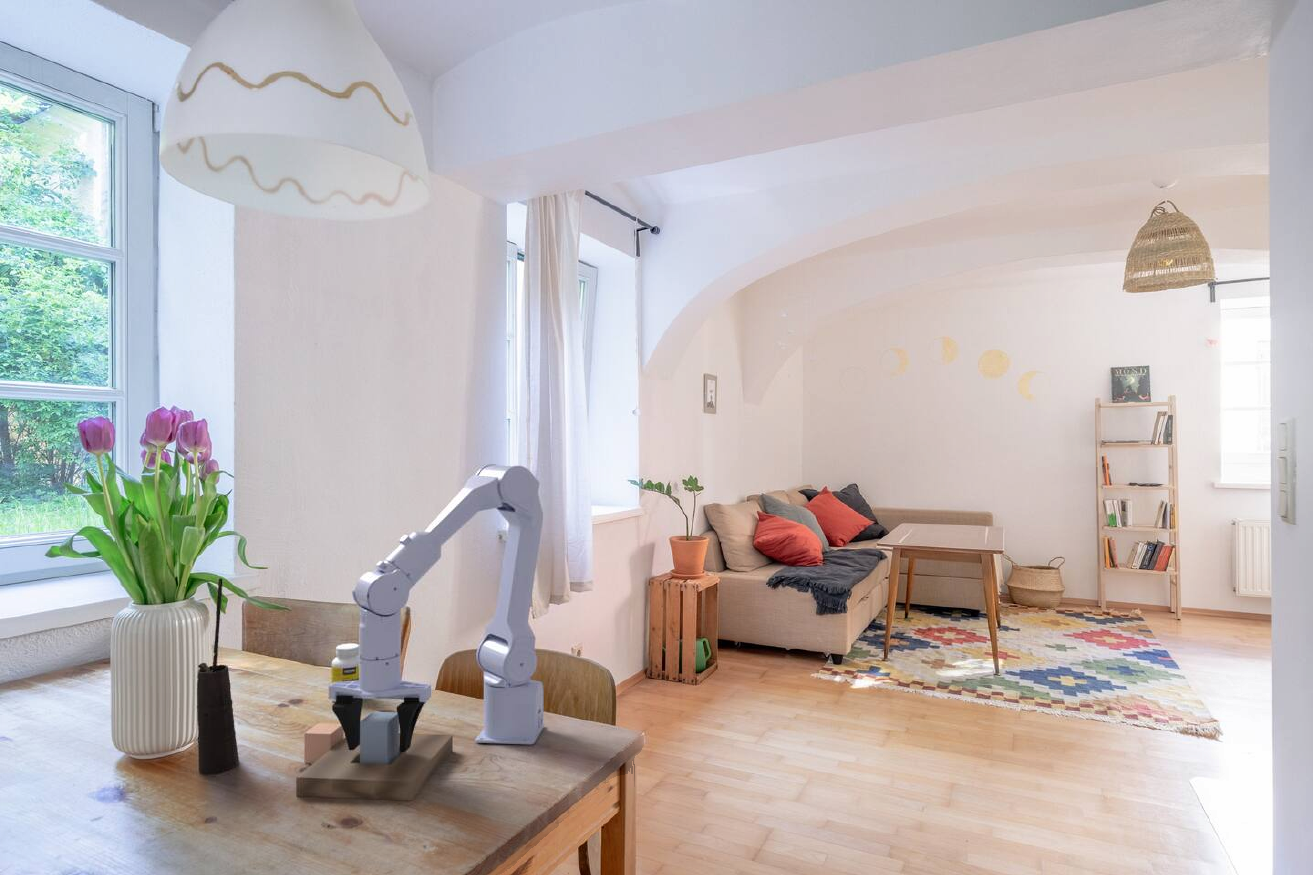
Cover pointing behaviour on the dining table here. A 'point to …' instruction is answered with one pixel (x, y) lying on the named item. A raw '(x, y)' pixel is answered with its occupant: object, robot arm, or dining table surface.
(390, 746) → the tall pin
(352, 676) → the supplement bottle
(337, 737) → the short pin
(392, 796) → the hole board
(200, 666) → the butter churn
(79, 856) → the dining table surface
